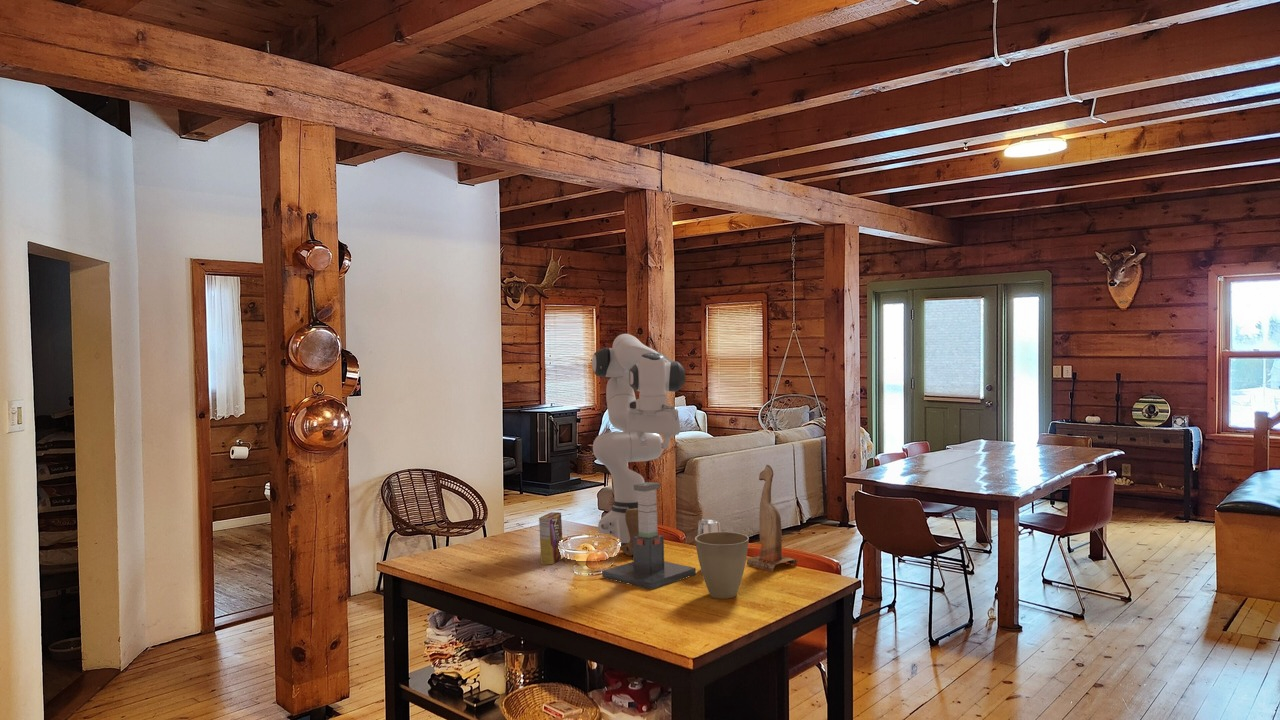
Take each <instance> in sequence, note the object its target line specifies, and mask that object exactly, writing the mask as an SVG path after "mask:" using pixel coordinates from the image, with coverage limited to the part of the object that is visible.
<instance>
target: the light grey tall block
mask: <svg viewBox="0 0 1280 720" xmlns="http://www.w3.org/2000/svg"><path fill="white" fill-rule="evenodd" d="M659 489H661V483H660V482H653V481H646V482H645V483H641V484H636V485H634V490H636V491H638V524H639V537H640V538H645V539H651V538H655V537H657V535H659V534H658V504H657V502H658V501H657V497H658V496H657V490H659Z"/></svg>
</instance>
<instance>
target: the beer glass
mask: <svg viewBox="0 0 1280 720" xmlns="http://www.w3.org/2000/svg"><path fill="white" fill-rule="evenodd" d="M720 524H721V523H720V520H719V519H710V518H708V519H701V520H698V529H697V536H698V535H700V534H704V533H710V532H722V531H721V525H720ZM699 567H700V566H699ZM700 571H701V567H700Z"/></svg>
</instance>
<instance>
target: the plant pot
mask: <svg viewBox="0 0 1280 720" xmlns="http://www.w3.org/2000/svg"><path fill="white" fill-rule="evenodd" d="M749 539H750V538H749V536H748V535H746V534H743V533H738V532H732V531H721V532H710V533H704V534H700V535H698V534H697V536H695V537H694V542H695V547H696V553H697V558H698V559H697V560H698V563H699V567H701V570H700V571H701V573H702V577H703V581H704V583H705V586H706V588H707V591H708V593H709V596H710V597H711V598H715V599H721V600H724V599H725V600H726V599H733V598H735V597H736V596H737V595H738V593H739V589H740V586H741V582H742V579H743V575H744V572H745V568H746V564H747V559H748V558H747V557H748V549H749V541H750V540H749Z"/></svg>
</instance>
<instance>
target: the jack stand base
mask: <svg viewBox="0 0 1280 720" xmlns="http://www.w3.org/2000/svg"><path fill="white" fill-rule="evenodd" d="M664 543H665V537H664V535H660V534H658V535H657V537H655V538H651V539H645V538H640V537H639V536H635V537H633V555H632V556H633V557H632V559H633V560H632V561H631V562H628V563H624V564H621V565H617V566H615V567H611V568H608V569H607V568H606V569H604V570H601V573H602V575H601V576H602V577H604V578H603V579H606V578H608V580H610V579H612V581H614V580H617V581H616V582H618V581H621V582H620V583H622V582H624V583H623V584H626V583H629V584H628V585H630V584H632V585H631V586H634V585H635V587H639V588H642V589H647V590H651V589H652V590H654V588H655V589H657V588H660V587H663V586H665V585H669V584H672V583H674V581H675V582H678V581H681V580H683V578H684V579H687V578H689V577H688V576H690V577H693V576H695V574H696V571H697V569H696V567H692V566H687V565H683V564H678V563H673V562H669V561H665V544H664ZM692 575H693V576H692ZM686 577H687V578H686ZM680 579H681V580H680ZM677 580H678V581H677ZM652 590H651V591H652Z"/></svg>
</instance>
